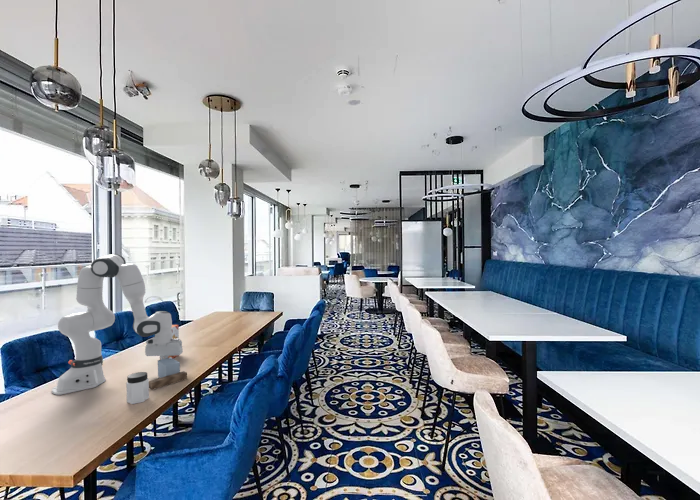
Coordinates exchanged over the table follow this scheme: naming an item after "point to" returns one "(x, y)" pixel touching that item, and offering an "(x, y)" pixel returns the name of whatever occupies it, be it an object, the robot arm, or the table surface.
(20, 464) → the table surface
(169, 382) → the board
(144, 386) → the jar
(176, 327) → the cracker box
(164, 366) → the brick
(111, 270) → the robot arm
